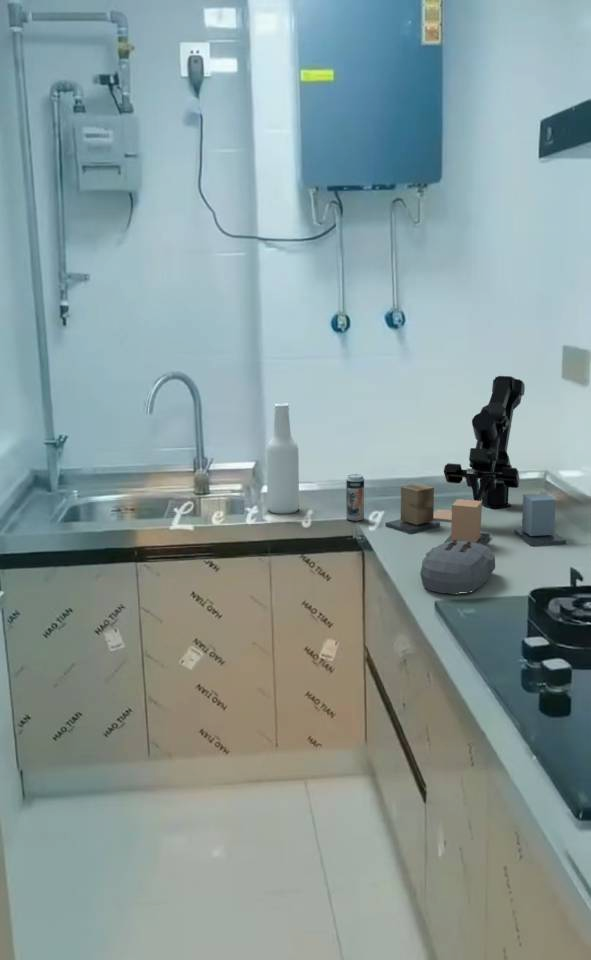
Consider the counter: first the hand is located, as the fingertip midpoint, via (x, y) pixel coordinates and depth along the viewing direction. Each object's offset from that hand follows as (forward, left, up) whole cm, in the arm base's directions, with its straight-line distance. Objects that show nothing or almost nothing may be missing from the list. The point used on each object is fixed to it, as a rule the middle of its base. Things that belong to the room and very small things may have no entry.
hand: (476, 503), depth 238 cm
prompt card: (-1, -14, -7) cm, 16 cm away
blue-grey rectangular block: (-11, +10, -6) cm, 17 cm away
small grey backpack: (+25, +30, -8) cm, 40 cm away
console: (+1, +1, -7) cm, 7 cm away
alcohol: (+37, -40, -8) cm, 55 cm away
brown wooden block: (+10, -11, -6) cm, 17 cm away
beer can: (+23, -23, -8) cm, 33 cm away
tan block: (+8, +8, -6) cm, 12 cm away
